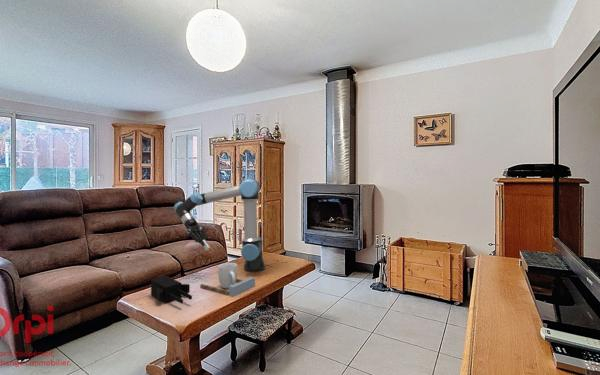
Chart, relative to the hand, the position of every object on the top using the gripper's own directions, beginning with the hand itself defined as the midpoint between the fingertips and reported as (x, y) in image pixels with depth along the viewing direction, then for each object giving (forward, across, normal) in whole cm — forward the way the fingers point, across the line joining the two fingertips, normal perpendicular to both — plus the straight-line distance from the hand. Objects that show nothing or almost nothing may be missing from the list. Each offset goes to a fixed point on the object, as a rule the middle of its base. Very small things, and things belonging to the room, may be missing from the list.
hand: (207, 248), depth 187 cm
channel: (+26, +1, -4) cm, 26 cm away
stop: (+36, +1, +5) cm, 36 cm away
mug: (+28, +1, -2) cm, 28 cm away
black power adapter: (+18, +30, -11) cm, 37 cm away
